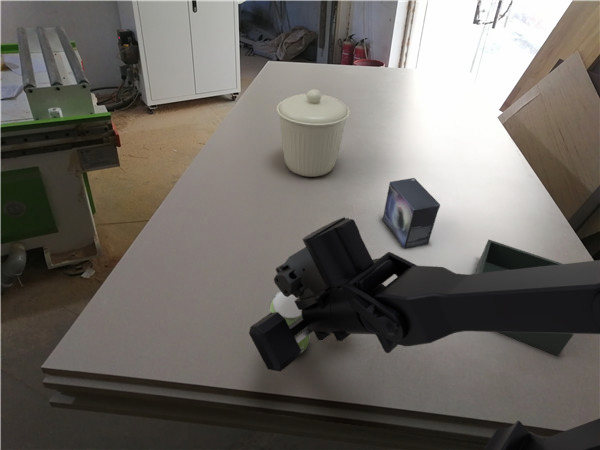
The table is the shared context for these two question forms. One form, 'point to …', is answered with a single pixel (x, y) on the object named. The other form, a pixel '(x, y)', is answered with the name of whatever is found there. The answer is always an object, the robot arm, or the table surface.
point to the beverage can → (288, 312)
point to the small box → (410, 212)
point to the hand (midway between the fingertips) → (286, 313)
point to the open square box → (512, 258)
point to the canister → (311, 132)
